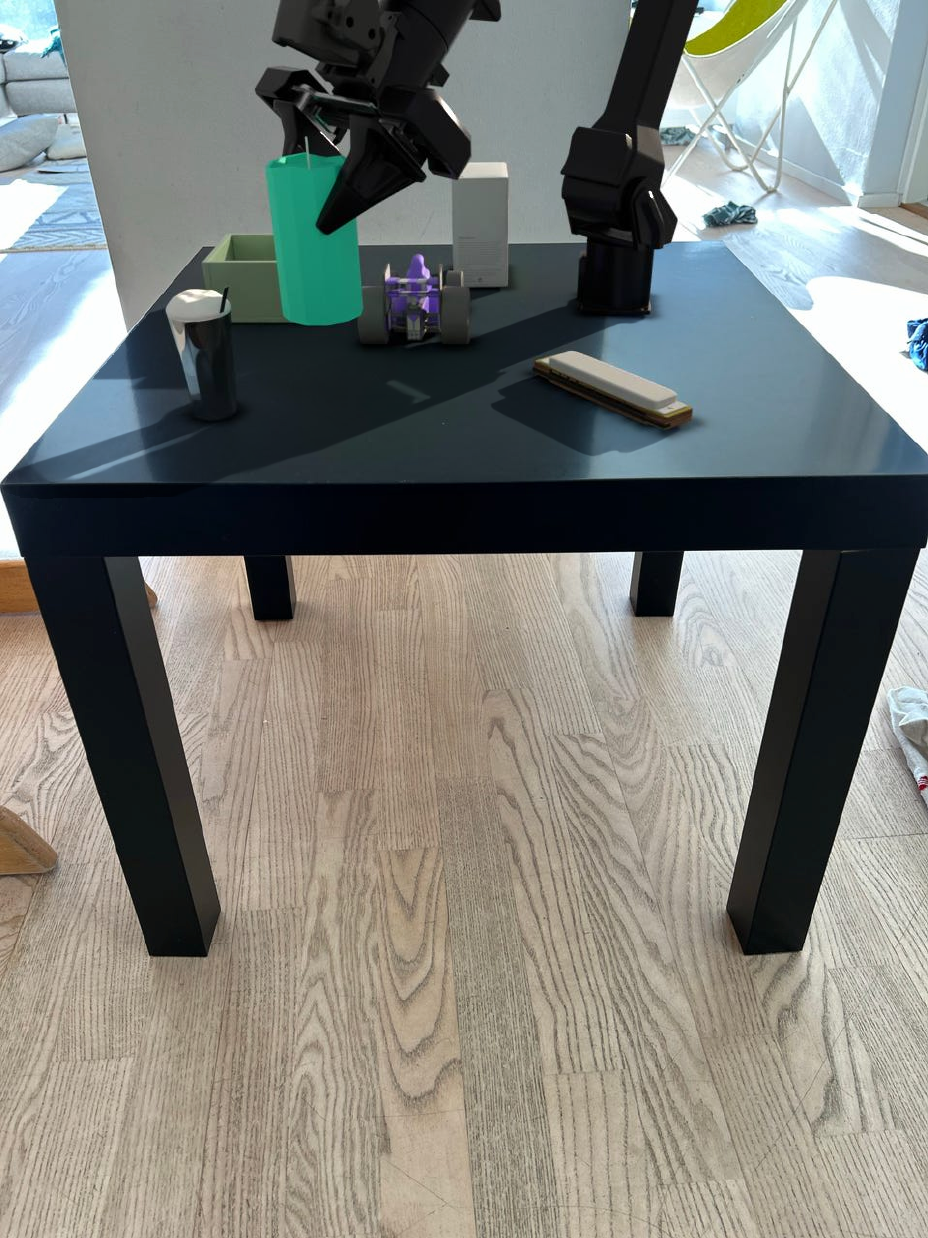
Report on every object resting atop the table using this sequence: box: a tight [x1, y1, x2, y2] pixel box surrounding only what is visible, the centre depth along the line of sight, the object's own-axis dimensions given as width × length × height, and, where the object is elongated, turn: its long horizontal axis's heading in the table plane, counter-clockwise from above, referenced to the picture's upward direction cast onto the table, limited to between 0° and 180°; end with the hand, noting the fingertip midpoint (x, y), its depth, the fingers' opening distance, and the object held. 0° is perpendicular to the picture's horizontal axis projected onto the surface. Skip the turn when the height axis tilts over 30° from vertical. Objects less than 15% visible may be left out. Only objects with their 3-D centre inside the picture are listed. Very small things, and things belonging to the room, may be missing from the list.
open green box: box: [201, 233, 295, 324], centre depth 96 cm, size 10×10×6 cm
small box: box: [451, 161, 510, 288], centre depth 101 cm, size 8×6×10 cm
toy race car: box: [356, 253, 471, 345], centre depth 91 cm, size 10×15×6 cm, turn 178°
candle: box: [264, 137, 363, 326], centre depth 71 cm, size 6×6×12 cm
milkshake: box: [165, 286, 238, 422], centre depth 73 cm, size 4×5×10 cm
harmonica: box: [531, 350, 694, 431], centre depth 77 cm, size 15×3×2 cm, turn 37°
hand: (297, 223), depth 70 cm, fingers closed on candle, 5 cm apart
